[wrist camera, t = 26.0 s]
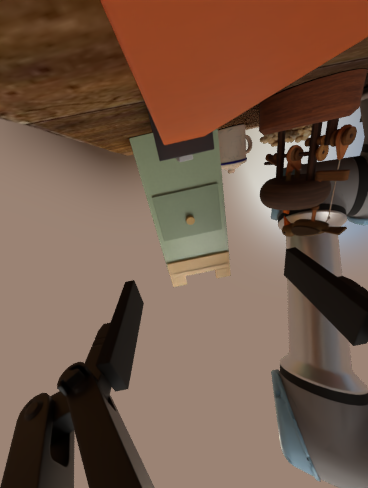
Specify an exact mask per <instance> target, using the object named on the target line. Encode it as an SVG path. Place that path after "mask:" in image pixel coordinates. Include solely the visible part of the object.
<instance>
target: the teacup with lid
mask: <svg viewBox="0 0 368 488" xmlns="http://www.w3.org/2000/svg"><path fill="white" fill-rule="evenodd" d="M245 138H246V139H247V141H248V149H247V150H246V140H245ZM218 139H219V150H220V161H221V168H222V169H224V170H228V173H234V172H235V170H234V169H236V168H238V167H239V166H240V165H241V164H243V163H245V162H246V159H247V158H246V154H247V153H249V151H250V150H251V148H252V140H251V138H250V137H249V136H248V135H245V125H244V124H241V125H236V126H231V127H227V128H223V129H220V130H218Z"/></svg>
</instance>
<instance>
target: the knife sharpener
mask: <svg viewBox="0 0 368 488" xmlns="http://www.w3.org/2000/svg"><path fill="white" fill-rule="evenodd" d="M100 1H101V3H102V6H103V8H104V10H105V12H106V15H107V17H108V19H109V21H110V24H111V26H112V28H113V31H114V33H115V35H116V37H117V40H118V42H119V44H120V46H121V49H122V51H123V53H124V55H125V58H126V60H127V62H128V65H129V67H130V69H131V71H132V74H133V76H134V78H135V80H136V83H137V85H138V87H139V89H140V92H141V94H142V96H143V98H144V101H145V103H146V106H147V110H148V115H149V119H150V123H151V127H152V131H153V136H154V140H155V144H156V148H157V152H158V157H159V161H164V160H169V159H173V158H177V161H179V162H183V161H187V160H192V159H193V155H192V154H196V153H200V152H205V151H209V150H214V139H213V131H214V130H216V129H217V128H219V127H220V126H222V125H224V124H225V123H227V122H229V121H230V120H232V119H234V118H235V117H237V116H238V115H240V114H242V113H243V112H245V111H247V110H248V109H250V108H252V107H253V106H255V105H256V104H258V103H260V102H261V101H263V100H265V99H266V98H268V97H270V96H271V95H273V94H275V93H276V92H278V91H279V90H281V89H283V88H284V87H286V86H288V85H289V84H291V83H293V82H294V81H296V80H297V79H299V78H301V77H302V76H304V75H306V74H307V73H309V72H311V71H312V70H314V69H315V68H317V67H319V66H320V65H322V64H324V63H325V62H327V61H329V60H330V59H332V58H333V57H335V56H337V55H338V54H340V53H342V52H343V51H345V50H347V49H348V48H350V47H351V46H353V45H355V44H356V43H358V42H360V41H361V40H363V39H365V38H366V37H368V0H100Z"/></svg>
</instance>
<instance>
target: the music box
mask: <svg viewBox="0 0 368 488" xmlns="http://www.w3.org/2000/svg"><path fill="white" fill-rule="evenodd" d="M366 74H367V69H356V70H350V71H346V72H341V73H337V74H334V75H330V76H326V77H323V78H320V79H316V80H313V81H310V82H307V83H304V84H301V85H298V86H296V87H293V88H290V89H288V90H285V91H283V92H280V93H278V94H276V95H273V96H271V97H269V98H267V99H265V100H264V101H262V102H261V103H260V104H259V131H260V132H261V133H262V134H263V135H267V134H272V133H276V132H278V146H277V153H275V154H274V155H271V154H267V155H266V160H267V161H268V162H265V163H264V165H275V166H277V168H276V178H273V179H270V180H268V181H267V182H266V183H265V184H264V185H263V186H262V188H261V190H260V199H261V201H262V203H263V204H264V205H265V206H267V207H269V208H272V209H277V210H283V213H286V214H289V210H301V209H307V208H311V210H312V217H311V219H299V220H296V221H295V222H294V223H290V222H289V221H288V219H287V218H286V217H285V216H284V226H283V228H282V233H283V234H284V235H285V236H287V237H292V236H294V235H296V236H312V235H318V234H322V233H324V232H326V233H331V234H335V235H340V233H342V232H343V231H345V229H347V228H346V227H329V223H327V221H328V219H330V216H329V215H330V210H331V205H332V200H333V195H334V190H335V185H336V181H345V180H348V177H349V173H350V170H349V169H346V170H339V165H340V160H341V159H343V157H344V155H345V152H346V150H347V148H348V145H350V144H351V143H352V142H353V141H354V139H355V137H356V132H357V130H356V127H352V125H350V124H349V125H344V126H343V127H341V129H337V126H338V121H339V118H342V117H346V116H350V115H351V114H352V113H354V111H356V110H357V109H358V108H359V107H360V102H361V97H362V93H363V88H364V84H365V79H366ZM325 121H328V122H327V128H326V135H323V136H320V135H321V128H322V122H325ZM307 125H312V131H311V138H307V139H306V141H305V146H310V148H309V152H303V149H302V148H301V147H300V146H298V145H294V146H292V147H291V148H290V149H289V150H288V152H287V154H284V151H285V135H286V130H290V129H294V128H298V127H303V126H307ZM319 145H320V146H319ZM328 145H331V146H332V147H334V146H336V151H337V159H338V160H339V163H338V169H337V170H322V171H316V174H315V170H316V163H317V160H318V161H322V160H324V159H325V158H326V155H327V154H328V149H329V148H328ZM303 156H309V157H308V164H307V173H306V174H300V171H301V158H302V157H303ZM284 158H287V161H288V164H287V169H286V174H285V175H286V176H283V167H284ZM294 169H295V174H294V175H292V171H293V170H294ZM330 181H335V184H334V189H333V194H332V199H331V204H330V209H329V215H328V217H327V220H326V222H324V221H320V220H315V217H316V211H317V210H318V209H319V204H321V203H322V202H324V201H325V200H326V199H327V198H328V196H329V194H330V192H331V183H330Z"/></svg>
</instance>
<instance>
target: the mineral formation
mask: <svg viewBox="0 0 368 488" xmlns="http://www.w3.org/2000/svg"><path fill="white" fill-rule="evenodd" d="M311 131H312V125H307V126H303V127H298V128H294V129H290V130H286V135H285V142H287V143H288V142H293V141H294V140H295V142H297V143H298V142H300V141H301V140H306V139H307V138H308V137H309V135H311ZM260 142H263V143H264V144H265V143H267V142H268V143H269V144H271V146H272V147H274V146H278V132H276V133H272V134H267V135H264V137H261V138H260Z"/></svg>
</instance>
